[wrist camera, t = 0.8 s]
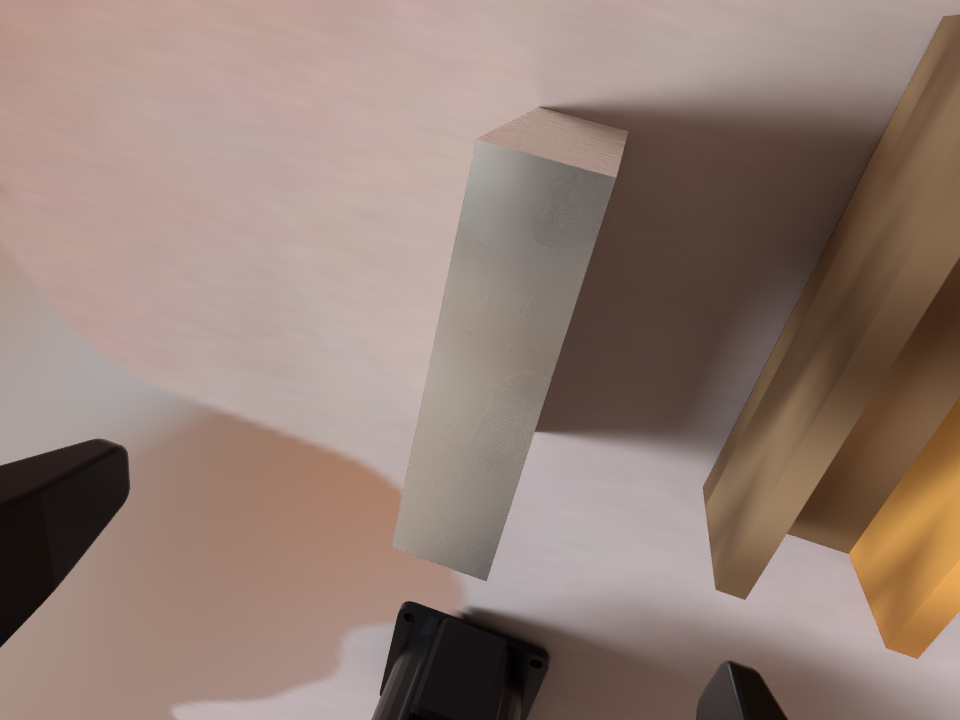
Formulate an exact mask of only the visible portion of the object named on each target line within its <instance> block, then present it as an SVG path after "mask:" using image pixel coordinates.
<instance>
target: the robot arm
mask: <svg viewBox="0 0 960 720" xmlns="http://www.w3.org/2000/svg"><path fill="white" fill-rule="evenodd" d="M129 491H130V477H129V461H128V452H127V450H126V449H125V448H124V447H123V446H122V445H119V444H116V443H113V442H110V441H108V440H105V439H93V440H89V441H86V442H82V443H79V444H75V445H72V446H68V447H64V448H61V449H57V450H54V451H51V452H47V453H44V454H40V455H36V456H33V457H29V458H26V459H22V460H19V461H15V462H12V463H8V464H4V465H1V466H0V647H1V646H2V645H3V644H4V643H5V642H6V641H7V640H8V639H9V638H10V637H11V636H12V635H13V634H14V633H15V632H16V630H18V629H19V628H20V627H21V625H22V624H23V623H24V622H25V621H26V620H27V619H28V618H29V617H30V616H31V615H32V614H33V613H34V612H35V611H36V610H37V609H38V608H39V607H40V606H41V605H42V604H43V602H44V601H45V600H46V599H47V598H48V597H49V596H50V595H51V593H53V592H54V590H55V589H56V588H57V587H58V586H59V585H60V583H61V582H62V581H63V580H64V579H65V577H66V576H67V575H68V574H69V572H70V571H71V570H72V569H73V568H74V566H75V565H76V564H77V562H78V561H79V560H80V558H81V557H82V556H83V555H84V554H85V552H86V551H87V550H88V549H89V547H90V546H91V545H92V544H93V542H94V541H95V540H96V538H97V537H98V536H99V535H100V533H101V532H102V531H103V529H104V528H105V527H106V526H107V525H108V523H109V522H110V521H111V520H112V518H113V517H114V516H115V514H116V513H117V512H118V511H119V509H120V508H121V507H122V506H123V504H124V503H125V501H126V499H127V497H128V495H129ZM549 660H550V656H549V654H548V653H547V652H546V651H545V650H544V649H542V648H539V647H536V646H534V645H531V644H528V643H525V642H523V641H520V640H517V639H514V638H512V637H509V636H506V635H503V634H501V633H498V632H495V631H492V630H490V629H487V628H484V627H481V626H479V625H476V624H473V623H470V622H468V621H465V620H462V619H459V618H457V617H454V616H451V615H448V614H445V613H443V612H440V611H437V610H434V609H432V608H429V607H426V606H423V605H421V604H418V603H415V602H411V601H408V602H405V603H403V604H402V606H401V608H400V610H399V613H398V616H397V620H396V625H395V629H394V633H393V638H392V642H391V646H390V651H389V655H388V659H387V664H386V668H385V672H384V677H383V681H382V685H381V690H380V696H381V698H380V700H379V703H378V705H377V708H376V710H375V713H374V715H373V717H372V720H526V718H527V716H528V714H529V711H530V709H531V707H532V704H533V702H534V700H535V697H536V695H537V693H538V691H539V688H540V686H541V684H542V681H543V679H544V677H545V674H546V672H547V670H548V666H549ZM696 720H788V718H787V717H786V715H785V713H784V712H783V710H782V709H781V707H780V705H779V704H778V702H777V701H776V699H775V697H774V696H773V694H772V693H771V691H770V689H769V688H768V686H767V685H766V683H765V681H764V680H763V678H762V677H761V675H760V674H759V673H758V672H757V671H756V670H755V669H753V668H750V667H747V666H744V665H742V664H739V663H736V662H733V661H728V660H727V661H725V662H723V663H722V664H721V665H720V666H719V668H718V670H717V671H716V673H715V674H714V676H713V677H712V679H711V681H710V682H709V684H708V685H707V687H706V688H705V690H704V692H703V693H702V695H701V697H700V700H699V703H698V708H697V717H696Z"/></svg>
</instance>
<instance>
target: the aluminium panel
mask: <svg viewBox="0 0 960 720" xmlns="http://www.w3.org/2000/svg"><path fill="white" fill-rule="evenodd" d="M627 135H628V131H626V130H623V129H619V128H615V127H611V126H608V125H604V124H600V123H596V122H593V121H589V120H585V119H581V118H578V117H574V116H570V115H567V114H563V113H559V112H555V111H552V110H548V109H544V108H540V107H537V108H535V109H533V110H531V111H529V112H527V113H526V114H524V115H522V116H520V117H518V118H516V119H514V120H512V121H510V122H508V123H506V124H504V125H502V126H500V127H499V128H497V129H495V130H493V131H491V132H489V133H487V134H485V135H483V136H481V137H479V138H477V139H476V142H475V147H474V152H473V157H472V161H471V166H470V171H469V176H468V181H467V186H466V190H465V195H464V200H463V205H462V210H461V215H460V219H459V224H458V229H457V234H456V239H455V243H454V248H453V253H452V258H451V263H450V268H449V272H448V277H447V282H446V287H445V292H444V296H443V301H442V306H441V311H440V316H439V321H438V325H437V330H436V335H435V340H434V345H433V349H432V354H431V359H430V364H429V369H428V374H427V378H426V383H425V388H424V393H423V398H422V403H421V407H420V412H419V417H418V422H417V427H416V431H415V436H414V441H413V446H412V451H411V456H410V460H409V465H408V470H407V475H406V480H405V484H404V489H403V494H402V499H401V504H400V509H399V514H398V519H397V524H396V528H395V533H394V537H393V542H392V548H395V549H397V550H400V551H403V552H406V553H409V554H411V555H414V556H417V557H420V558H423V559H425V560H428V561H431V562H434V563H437V564H439V565H442V566H445V567H448V568H451V569H453V570H456V571H459V572H462V573H465V574H468V575H470V576H473V577H476V578H479V579H482V580H484V581H487V578H488V575H489V572H490V569H491V565H492V562H493V559H494V556H495V553H496V550H497V547H498V544H499V541H500V538H501V534H502V531H503V528H504V525H505V522H506V519H507V516H508V513H509V510H510V506H511V503H512V500H513V497H514V494H515V491H516V488H517V485H518V482H519V479H520V475H521V472H522V469H523V466H524V463H525V460H526V457H527V454H528V451H529V447H530V444H531V441H532V438H533V435H534V432H535V429H536V426H537V423H538V420H539V416H540V413H541V410H542V407H543V404H544V401H545V398H546V395H547V392H548V388H549V385H550V382H551V379H552V376H553V373H554V370H555V367H556V364H557V361H558V357H559V354H560V351H561V348H562V345H563V342H564V339H565V336H566V333H567V329H568V326H569V323H570V320H571V317H572V314H573V311H574V308H575V305H576V302H577V298H578V295H579V292H580V289H581V286H582V283H583V280H584V277H585V274H586V270H587V267H588V264H589V261H590V258H591V255H592V252H593V249H594V246H595V243H596V239H597V236H598V233H599V230H600V227H601V224H602V221H603V218H604V215H605V211H606V208H607V205H608V202H609V199H610V196H611V193H612V190H613V187H614V184H615V180H616V177H617V173H618V170H619V166H620V162H621V158H622V154H623V150H624V146H625V143H626V139H627Z"/></svg>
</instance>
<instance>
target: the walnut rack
mask: <svg viewBox="0 0 960 720" xmlns="http://www.w3.org/2000/svg"><path fill="white" fill-rule="evenodd" d="M703 493H704V501H705V509H706V517H707V525H708V533H709V541H710V549H711V557H712V565H713V573H714V581H715V589H716V590H718V591H721V592H724V593H727V594H730V595H733V596H735V597H738V598H741V599H744V600H745V599H746V598H747V596H748V595H749V593H750V591H751V590H752V588H753V587H754V585H755V583H756V582H757V580H758V579H759V577H760V575H761V574H762V572H763V571H764V569H765V567H766V566H767V564H768V563H769V561H770V559H771V558H772V556H773V555H774V553H775V551H776V550H777V548H778V547H779V545H780V543H781V542H782V540H783V539H784V537H785V535H786V534H790V535H793V536H796V537H799V538H802V539H805V540H808V541H811V542H814V543H817V544H820V545H823V546H826V547H829V548H832V549H835V550H838V551H841V552H844V553H847V554H849V556H850V558H851V561H852V563H853V566H854V569H855V571H856V574H857V576H858V579H859V581H860V584H861V586H862V589H863V591H864V594H865V596H866V599H867V601H868V604H869V606H870V609H871V611H872V614H873V616H874V619H875V621H876V624H877V626H878V629H879V631H880V634H881V636H882V639H883V641H884V644H885V646H886V648H888V649H891V650H894V651H896V652H899V653H902V654H905V655H908V656H911V657H914V658H917V659H918V658H919V656H920V655H921V654H922V653H923V652H924V651H925V650H926V648H927V647H928V646H929V645H930V644H931V643H932V642H933V641H934V639H935V638H936V637H937V636H938V635H939V634H940V633H941V631H942V630H943V629H944V628H945V627H946V626H947V625H948V623H949V622H950V621H951V620H952V619H953V618H954V617H955V616H956V614H957V613H958V612H959V611H960V15H954V16H945V17H943V19H942V20H941V22H940V24H939V26H938V28H937V30H936V32H935V34H934V36H933V38H932V40H931V42H930V44H929V46H928V48H927V50H926V52H925V54H924V56H923V58H922V60H921V62H920V64H919V65H918V67H917V69H916V71H915V73H914V75H913V77H912V79H911V81H910V83H909V85H908V87H907V89H906V91H905V93H904V95H903V97H902V99H901V101H900V103H899V105H898V107H897V109H896V111H895V112H894V114H893V116H892V118H891V120H890V122H889V124H888V126H887V128H886V130H885V132H884V134H883V136H882V138H881V140H880V142H879V144H878V146H877V148H876V150H875V152H874V154H873V156H872V157H871V159H870V161H869V163H868V165H867V167H866V169H865V171H864V173H863V175H862V177H861V179H860V181H859V183H858V185H857V187H856V189H855V191H854V193H853V195H852V197H851V199H850V201H849V203H848V204H847V206H846V208H845V210H844V212H843V214H842V216H841V218H840V220H839V222H838V224H837V226H836V228H835V230H834V232H833V234H832V236H831V238H830V240H829V242H828V244H827V246H826V248H825V249H824V251H823V253H822V255H821V257H820V259H819V261H818V263H817V265H816V267H815V269H814V271H813V273H812V275H811V277H810V279H809V281H808V283H807V285H806V287H805V289H804V291H803V293H802V295H801V296H800V298H799V300H798V302H797V304H796V306H795V308H794V310H793V312H792V314H791V316H790V318H789V320H788V322H787V324H786V326H785V328H784V330H783V332H782V334H781V336H780V338H779V340H778V341H777V343H776V345H775V347H774V349H773V351H772V353H771V355H770V357H769V359H768V361H767V363H766V365H765V367H764V369H763V371H762V373H761V375H760V377H759V379H758V381H757V383H756V385H755V387H754V388H753V390H752V392H751V394H750V396H749V398H748V400H747V402H746V404H745V406H744V408H743V410H742V412H741V414H740V416H739V418H738V420H737V422H736V424H735V426H734V428H733V430H732V432H731V434H730V435H729V437H728V439H727V441H726V443H725V445H724V447H723V449H722V451H721V453H720V455H719V457H718V459H717V461H716V463H715V465H714V467H713V469H712V471H711V473H710V475H709V477H708V479H707V480H706V482H705V484H704V486H703Z"/></svg>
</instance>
